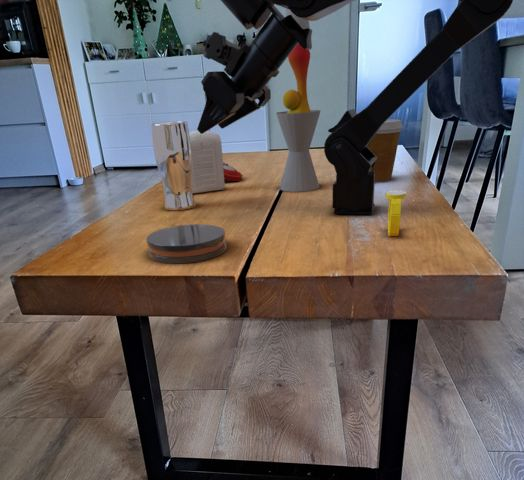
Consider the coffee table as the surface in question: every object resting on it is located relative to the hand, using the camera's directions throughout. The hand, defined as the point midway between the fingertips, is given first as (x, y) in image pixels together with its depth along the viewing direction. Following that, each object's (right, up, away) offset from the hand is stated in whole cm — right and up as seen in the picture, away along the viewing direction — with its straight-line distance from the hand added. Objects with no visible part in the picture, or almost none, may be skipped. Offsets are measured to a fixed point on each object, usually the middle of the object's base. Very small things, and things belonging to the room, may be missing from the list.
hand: (210, 129), depth 87 cm
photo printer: (-4, -4, +22) cm, 23 cm away
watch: (+28, -22, -15) cm, 39 cm away
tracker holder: (0, +3, +35) cm, 35 cm away
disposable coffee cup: (+35, -1, +24) cm, 42 cm away
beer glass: (-7, -11, +9) cm, 16 cm away
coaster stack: (-1, -25, -17) cm, 30 cm away
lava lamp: (+17, -4, +20) cm, 27 cm away
